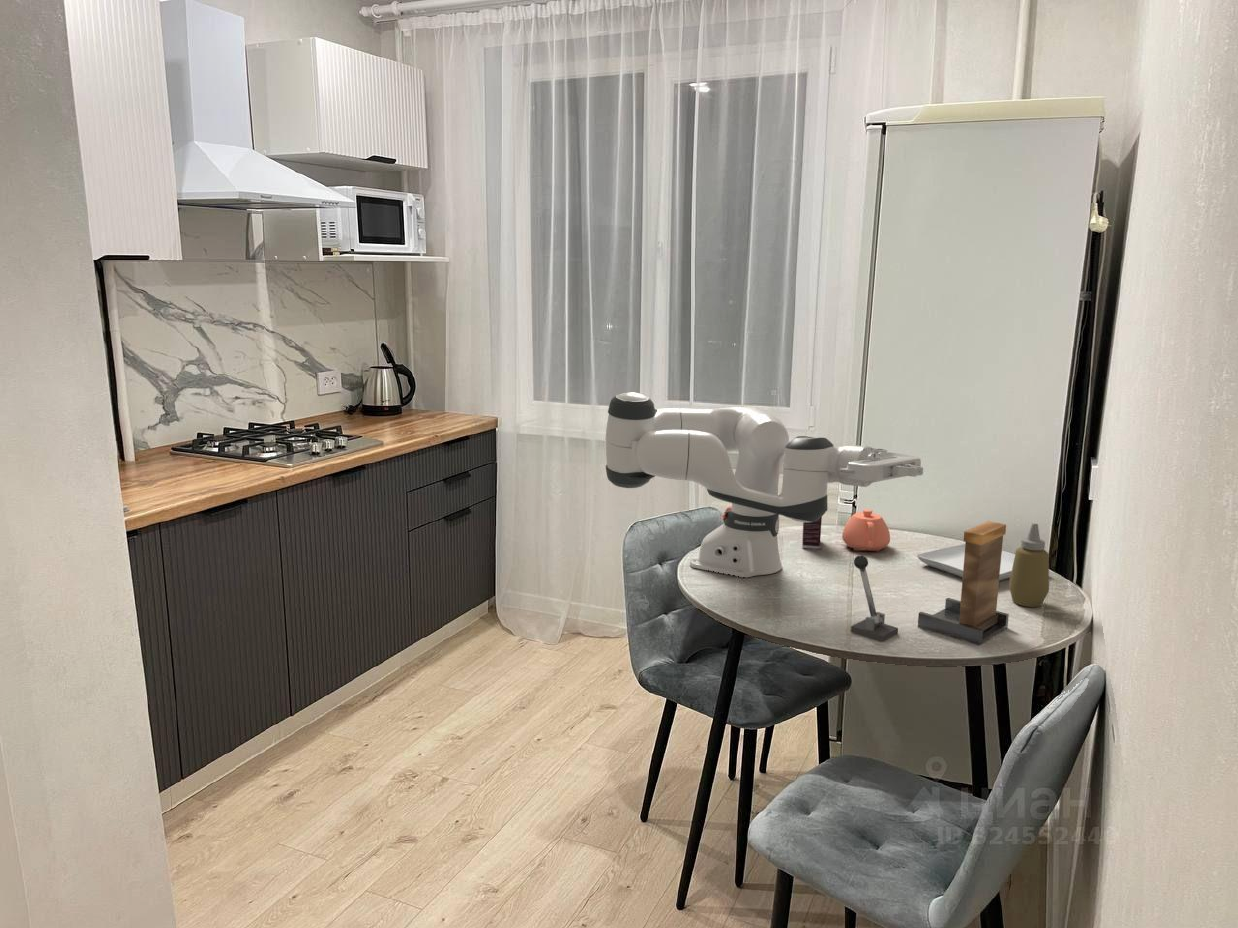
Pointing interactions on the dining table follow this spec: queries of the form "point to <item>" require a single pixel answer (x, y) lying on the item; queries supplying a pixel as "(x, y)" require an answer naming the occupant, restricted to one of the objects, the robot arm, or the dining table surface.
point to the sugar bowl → (866, 532)
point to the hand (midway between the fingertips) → (919, 471)
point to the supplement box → (811, 534)
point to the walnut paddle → (981, 574)
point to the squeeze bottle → (1030, 571)
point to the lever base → (874, 629)
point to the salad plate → (961, 560)
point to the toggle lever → (867, 587)
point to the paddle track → (960, 624)
